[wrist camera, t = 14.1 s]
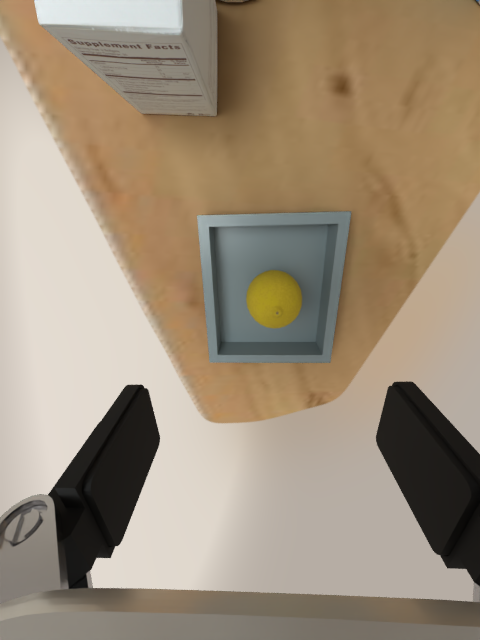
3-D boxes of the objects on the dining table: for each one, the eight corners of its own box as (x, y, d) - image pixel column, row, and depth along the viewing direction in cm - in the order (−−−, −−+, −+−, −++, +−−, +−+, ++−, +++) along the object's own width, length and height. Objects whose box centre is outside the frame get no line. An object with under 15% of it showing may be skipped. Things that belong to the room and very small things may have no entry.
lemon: (295, 308, 30) (308, 340, 22) (248, 310, 30) (247, 343, 23) (295, 261, 27) (310, 279, 20) (245, 265, 28) (242, 284, 21)
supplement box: (130, 6, 21) (-24, -257, 9) (219, 10, 21) (178, -251, 9) (139, 116, 24) (32, 24, 12) (217, 120, 24) (185, 31, 12)
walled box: (204, 215, 27) (197, 215, 23) (337, 211, 26) (351, 211, 22) (214, 345, 33) (209, 362, 29) (321, 345, 32) (330, 362, 29)
